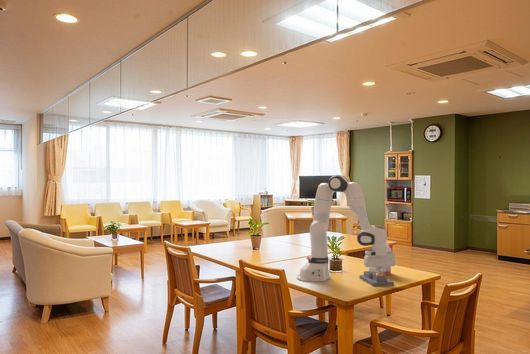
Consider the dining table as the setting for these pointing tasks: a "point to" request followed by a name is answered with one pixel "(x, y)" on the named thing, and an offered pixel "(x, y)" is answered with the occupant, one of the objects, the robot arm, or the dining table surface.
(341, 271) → the dining table surface
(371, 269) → the cartridge
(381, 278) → the housing
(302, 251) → the dining table surface
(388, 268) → the cracker box
